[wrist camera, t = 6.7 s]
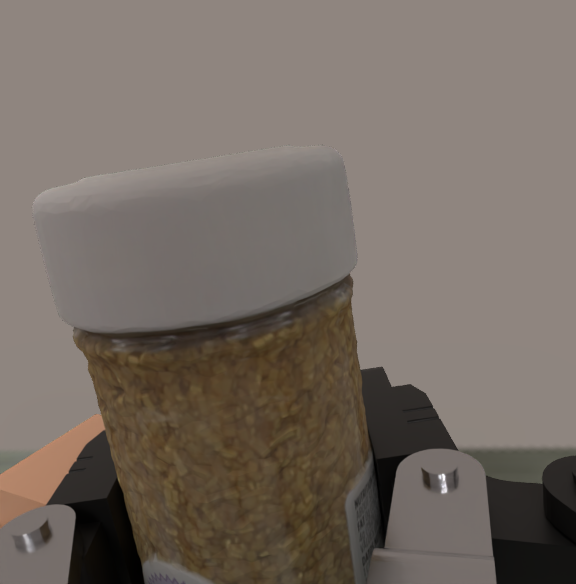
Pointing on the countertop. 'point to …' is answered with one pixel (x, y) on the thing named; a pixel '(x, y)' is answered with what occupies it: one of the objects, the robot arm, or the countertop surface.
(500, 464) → the countertop surface
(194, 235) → the sprinkles bottle
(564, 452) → the countertop surface
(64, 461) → the key terracotta
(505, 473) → the countertop surface
